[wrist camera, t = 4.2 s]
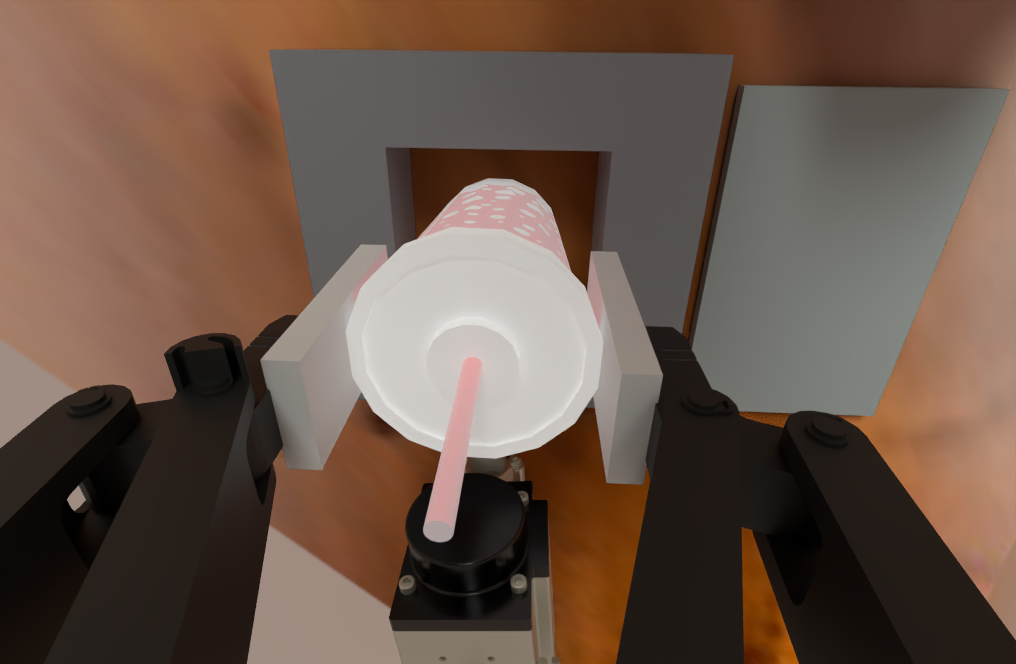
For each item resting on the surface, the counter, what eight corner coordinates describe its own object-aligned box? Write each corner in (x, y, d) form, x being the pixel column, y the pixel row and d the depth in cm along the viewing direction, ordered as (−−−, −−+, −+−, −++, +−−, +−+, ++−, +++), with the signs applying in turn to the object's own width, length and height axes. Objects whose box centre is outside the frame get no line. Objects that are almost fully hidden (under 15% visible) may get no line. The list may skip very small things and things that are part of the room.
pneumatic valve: (464, 554, 32) (428, 806, 21) (436, 392, 26) (370, 625, 16) (557, 552, 31) (567, 810, 21) (549, 388, 26) (557, 625, 15)
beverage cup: (476, 333, 23) (400, 682, 10) (387, 211, 20) (152, 474, 8) (606, 264, 21) (705, 586, 8) (526, 121, 18) (499, 278, 6)
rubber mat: (738, 84, 19) (744, 86, 19) (996, 88, 19) (1009, 89, 18) (676, 401, 26) (679, 409, 25) (866, 408, 26) (873, 416, 25)
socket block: (311, 49, 19) (269, 49, 16) (701, 53, 19) (733, 55, 16) (356, 355, 25) (332, 398, 22) (651, 365, 25) (667, 410, 22)
